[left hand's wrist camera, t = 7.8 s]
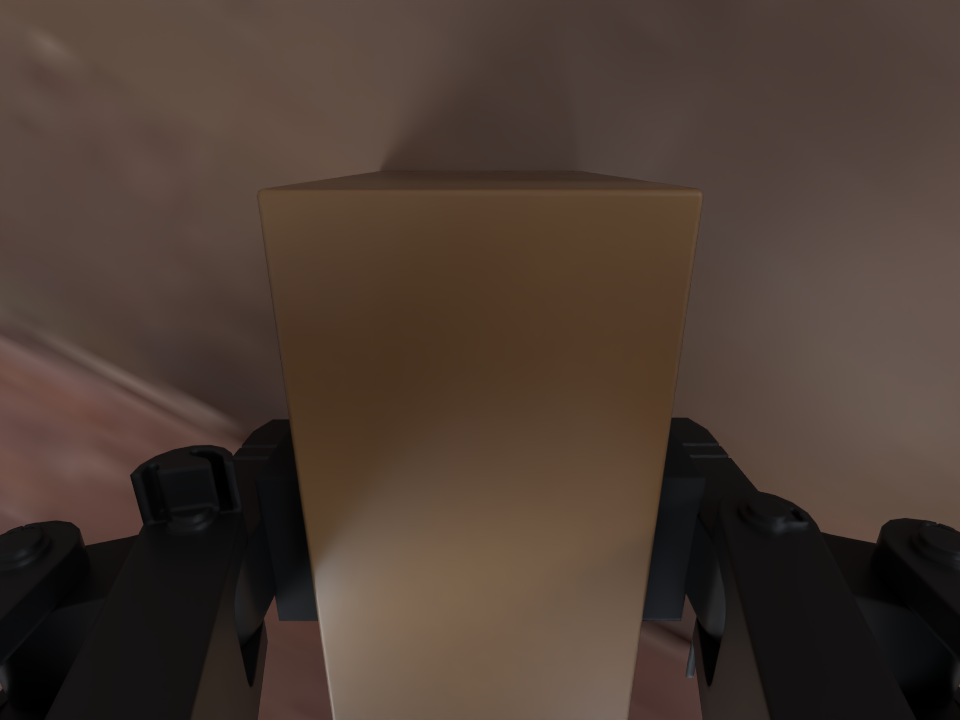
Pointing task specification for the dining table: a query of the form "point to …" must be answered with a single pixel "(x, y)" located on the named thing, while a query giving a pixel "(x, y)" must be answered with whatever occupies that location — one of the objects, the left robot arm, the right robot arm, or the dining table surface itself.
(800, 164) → the dining table surface
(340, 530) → the bar
